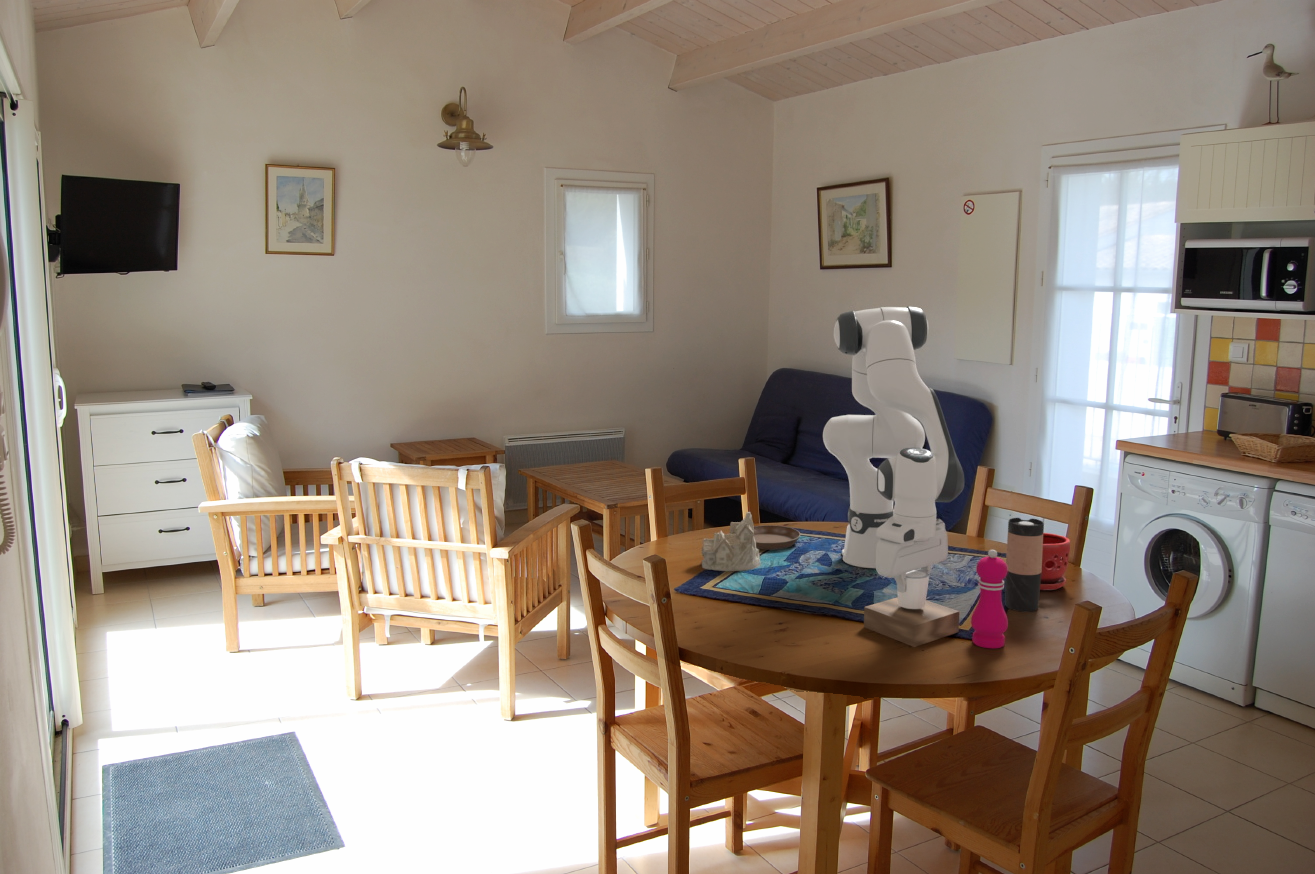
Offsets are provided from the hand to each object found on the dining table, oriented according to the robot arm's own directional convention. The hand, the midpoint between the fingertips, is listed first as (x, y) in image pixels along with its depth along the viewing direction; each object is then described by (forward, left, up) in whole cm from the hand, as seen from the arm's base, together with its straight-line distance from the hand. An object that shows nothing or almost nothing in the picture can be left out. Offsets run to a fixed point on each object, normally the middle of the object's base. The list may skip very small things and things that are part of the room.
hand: (912, 588), depth 209 cm
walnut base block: (0, 0, -10) cm, 10 cm away
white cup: (0, 0, -4) cm, 4 cm away
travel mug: (-31, +7, -9) cm, 33 cm away
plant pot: (-48, +1, -9) cm, 49 cm away
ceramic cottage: (-3, -61, -10) cm, 62 cm away
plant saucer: (-24, -68, -10) cm, 73 cm away
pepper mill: (-6, +15, -9) cm, 19 cm away
